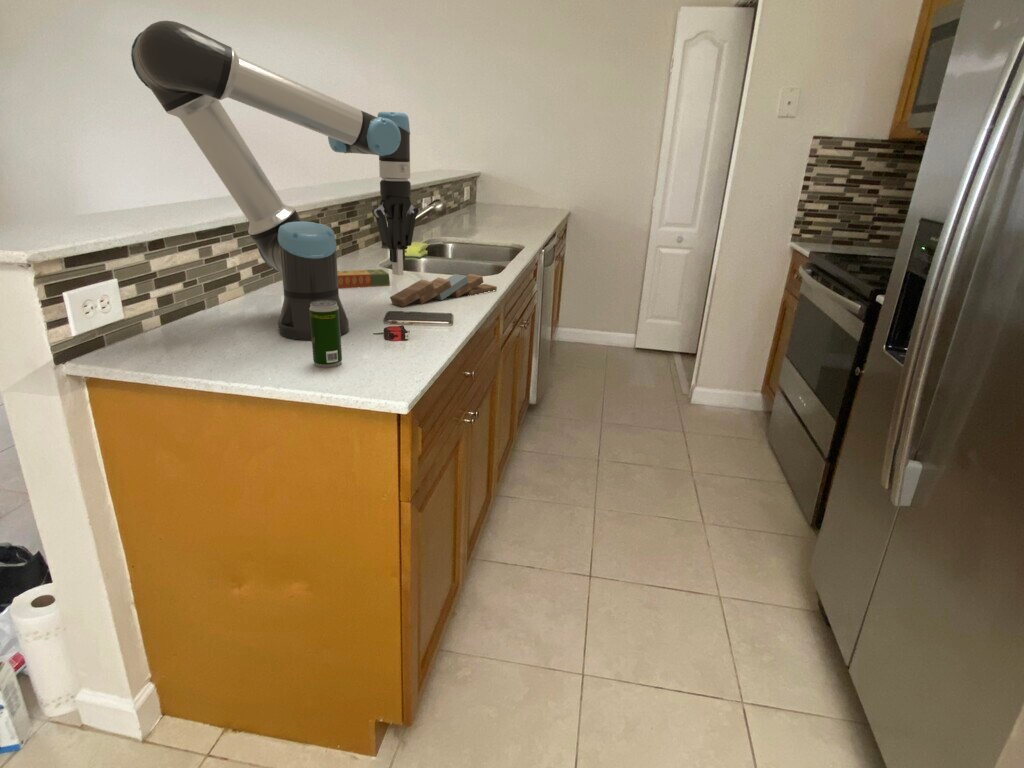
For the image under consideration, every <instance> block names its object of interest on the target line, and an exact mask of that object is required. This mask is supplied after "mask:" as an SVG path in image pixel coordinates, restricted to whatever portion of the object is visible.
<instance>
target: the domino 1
mask: <svg viewBox="0 0 1024 768" xmlns="http://www.w3.org/2000/svg"><path fill="white" fill-rule="evenodd" d="M432 290H434V286H433V283H432V282H431V281H429V280H424V279H419V280H418V281H416V282H414V283H412V284H411V285H409V286H407V287H405V288H404V289H402V290H400V291H397V293H394V294H393V295H391V296H390V298H389V299H390V301H391V304H392V305H396V306H398V307H401V308H405V307H407V306H408V305H410V304H411V303H414V302H413V301H415V300H417V299H418V298H420V297H422V296H424V295H425V294H427V293H429V292H430V291H432Z"/></svg>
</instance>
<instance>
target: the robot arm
mask: <svg viewBox="0 0 1024 768" xmlns="http://www.w3.org/2000/svg"><path fill="white" fill-rule="evenodd" d="M130 50H131V52H130V57H131V63H132V67H133V70H134V72H135V74H136V76H137V77H138V79H139V81H140V82H142V83H143V85H144V86H146V87H147V88H148V89H149V90H151V92H152V93H153V95H154V96H155V97H156V100H157V101H158V103H160V105H161V106H162V108H163V109H164V111H165V112H166V113H167V114H168V115H171V116H174V117H177V118H178V119H180V121H181V122H182V124H183V125H184V127H185V128H186V129H187V131H188V133H189V135H190V136H191V137H192V139H193V141H195V143H196V145H197V147H198V148H199V150H201V152H202V155H204V156H205V158H206V159H207V161H208V163H209V164H210V166H211V167H212V168H213V170H214V171H215V173H216V174H217V176H218V178H219V179H220V181H221V182H222V184H223V185H224V186H225V188H226V190H227V191H228V193H229V194H230V196H232V198H233V200H234V202H235V203H236V204H237V205H238V208H239V209H240V210H241V212H242V213H243V215H244V217H246V219H247V220H248V222H249V225H248V230H247V233H248V235H250V237H251V239H252V241H253V242H254V243H255V244H256V246H257V250H258V253H259V255H260V257H261V259H262V260H263V261H264V263H266V265H268V266H269V267H270V268H272V269H273V270H275V271H277V272H279V273H281V278H282V279H281V280H282V289H283V303H282V307H281V309H280V314H279V318H278V323H277V325H278V333H279V334H280V336H282V337H285V338H287V339H292V340H304V341H312V337H311V324H310V312H309V308H310V303H311V302H313V301H319V300H331V301H336V302H337V306H338V307H339V318H340V334H341V336H342V335H344V334H346V333H348V332H349V330H350V329H349V328H350V326H349V324H350V323H349V319H348V316H347V314H346V311H345V309H344V305H343V303H342V301H341V298H340V293H339V289H338V273H337V271H338V261H337V260H338V258H337V241H336V236H335V231H334V230H333V229H332V228H331V227H330V226H329V225H326V224H323V223H316V222H312V221H303V220H302V218H301V216H300V215H299V214H298V212H297V211H296V209H295V208H294V206H291V205H287V204H286V203H285V204H284V202H283V201H282V200H281V198H280V196H279V194H278V192H277V191H276V189H275V188H274V187H273V184H272V183H271V181H270V180H269V179H268V177H267V175H266V174H265V172H264V171H263V169H262V167H261V166H260V165H259V162H258V160H257V159H256V157H255V156H254V154H253V153H252V151H251V149H250V148H249V146H248V145H247V143H246V142H245V140H244V138H243V137H242V135H241V134H240V132H239V130H238V129H237V127H236V125H235V124H234V123H233V120H232V119H231V117H230V116H229V114H228V112H227V110H226V109H225V107H224V106H223V105H222V103H221V101H222V100H225V99H227V98H228V99H231V100H233V101H237V102H238V103H242V104H244V105H246V106H249V107H252V108H254V109H257V110H259V111H262V112H265V113H267V114H270V115H273V116H275V117H278V118H280V119H283V120H285V121H288V122H291V123H293V124H296V125H298V126H301V127H304V128H306V129H308V130H310V131H313V132H315V133H319V134H321V135H324V136H326V137H327V141H328V144H329V147H330V148H331V150H332V151H333V152H335V153H339V154H340V153H341V154H342V153H344V154H358V155H359V154H361V155H373V156H378V161H379V163H378V164H379V165H378V167H379V169H378V170H379V178H380V179H381V180H380V181H379V189H380V190H379V192H380V196H381V199H380V202H379V206H378V207H377V208H373V209H372V211H371V212H372V214H373V216H374V218H375V220H376V225H377V229H378V232H379V236H380V240H381V245H382V247H384V248H386V249H389V261H390V262H391V266H392V267H391V268H392V269H391V270H392V275H395V276H396V275H397V276H403V275H404V262H405V261H406V250H407V249H408V247H411V245H412V243H413V236H414V231H415V225H416V219H417V216H418V214H419V211H420V209H419V208H418V207H415V206H414V205H412V202H411V199H410V197H411V195H412V192H411V191H412V190H411V186H412V185H411V184H412V183H411V182H410V181H409V179H410V178H411V152H410V151H411V147H410V146H411V143H410V142H411V141H410V140H411V139H410V138H411V130H410V127H411V126H410V120H409V116H408V114H406V113H405V112H401V111H399V112H397V111H379V112H378V113H377V116H375V115H373V114H371V113H368V112H366V111H363V110H360V108H357V107H355V106H353V105H350V104H347V103H345V102H343V101H341V100H338V99H336V98H334V97H331V96H329V95H326V94H324V93H323V92H321V91H318V90H315V89H313V88H311V87H309V86H306V85H304V84H302V83H299V82H297V81H295V80H293V79H290V78H288V77H286V76H283V75H281V74H280V73H276V72H274V71H272V70H270V69H267V68H265V67H263V66H261V65H259V64H256V63H254V62H253V61H252V62H251V61H249V60H247V59H245V58H242V57H241V56H238V55H237V52H236V51H235V49H234V48H233V47H232V46H230V45H228V44H225V43H223V42H221V41H218V40H216V39H214V38H212V37H210V36H208V35H206V34H204V33H202V32H200V31H199V30H197V29H194V28H192V27H190V26H188V25H186V24H183V23H181V22H177V21H174V20H159V21H156V22H153V23H151V24H150V25H148V26H147V27H146V28H144V30H143V31H141V32H140V33H138V34H137V36H136V37H135V39H134V41H133V42H132V45H131V49H130Z"/></svg>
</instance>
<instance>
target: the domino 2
mask: <svg viewBox="0 0 1024 768" xmlns="http://www.w3.org/2000/svg"><path fill="white" fill-rule="evenodd" d="M446 279H447V278H446ZM446 279H445V278H443V277H436V278H435V279H434V280H431V281H430V282H432V283H433V286H434V290H432V291H430V292H429V293H427V294H425V295H424V296H422V297H420V298H418V299H417V300H415V301H413V302H412V303H416V304H419V305H423V304H425V303H427V302H428V301H430V300H432V299H434V298H433V297H435V296H437V295H439V294H440V293H442V292H444V291H445V290H447V289H449V288H450V287H451V283H450V280H446Z"/></svg>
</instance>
